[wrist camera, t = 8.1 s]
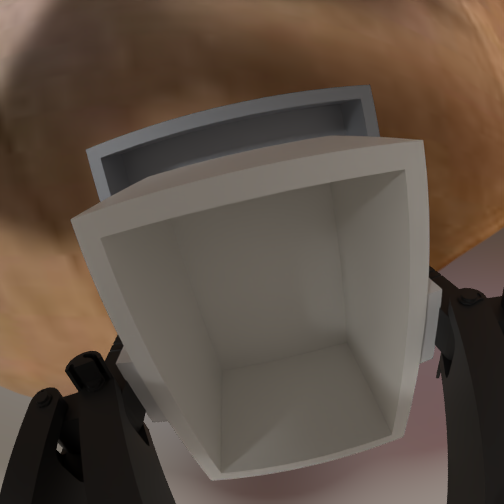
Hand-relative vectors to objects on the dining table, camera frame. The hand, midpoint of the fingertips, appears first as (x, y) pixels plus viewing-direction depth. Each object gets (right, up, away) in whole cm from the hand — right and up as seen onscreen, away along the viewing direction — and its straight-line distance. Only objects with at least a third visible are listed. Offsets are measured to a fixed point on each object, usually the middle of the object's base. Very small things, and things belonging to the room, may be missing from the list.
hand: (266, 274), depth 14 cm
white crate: (0, 0, 0) cm, 0 cm away
